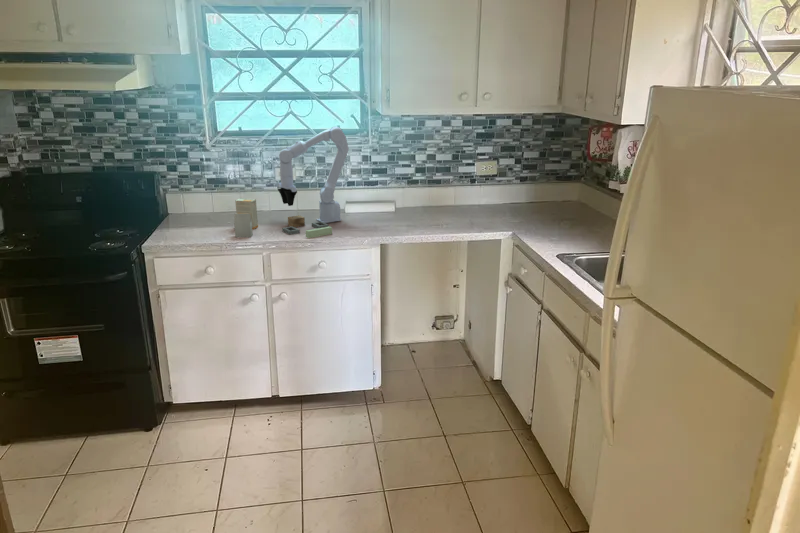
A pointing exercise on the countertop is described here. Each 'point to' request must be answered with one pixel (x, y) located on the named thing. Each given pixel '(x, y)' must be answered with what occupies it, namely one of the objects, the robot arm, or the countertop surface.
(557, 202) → the countertop surface
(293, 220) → the tan block
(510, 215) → the countertop surface
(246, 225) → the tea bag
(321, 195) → the robot arm
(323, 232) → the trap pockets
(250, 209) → the supplement box
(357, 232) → the countertop surface
